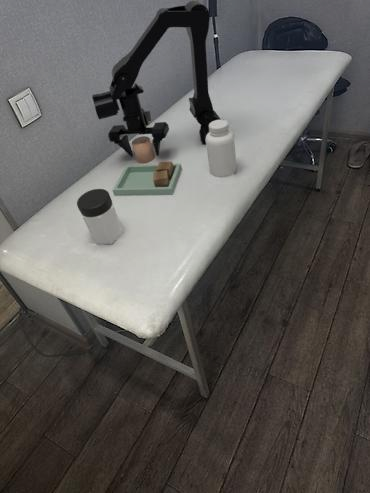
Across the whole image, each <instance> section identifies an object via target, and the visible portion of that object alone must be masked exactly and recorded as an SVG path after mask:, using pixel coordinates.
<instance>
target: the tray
mask: <svg viewBox="0 0 370 493" xmlns="http://www.w3.org/2000/svg"><path fill="white" fill-rule="evenodd" d="M158 164H159V163H157V164H155V163H154V164H152V163H151V164H150V163H149V164H129V165H127V164H126V165H125V166H124V169H123V170H122V172H121V174H120V176H119V177H118V180H117V181H116V183H115V185H114V187H113V189H112V193H113V195H114V196H116V197H118V196H119V197H121V196H124V197H125V196H173V194H174V191H175V189H176V185H177V183H178V180H179V178H180V175H181V172H182V169H183V168H182V164H181V163H179V162H178V163H176V162H175V163H173V167H174V174H173V176H172V179H171V180H170V184H169V187H155V185H154V182H153V173H154V172H157V171H156V169H157V167H158Z"/></svg>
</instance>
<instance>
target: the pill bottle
mask: <svg viewBox="0 0 370 493" xmlns="http://www.w3.org/2000/svg"><path fill="white" fill-rule="evenodd" d="M229 128H230V127H229V122H228V120H226V119H221V120H215V121H212V122H211V123H210V124H209V133H208V134H207V135H206V139H205V140H206V145H205V147H206V153H207V161H208V167H209V168H208V169H209V172H210V174H211V176H213V177H215V178H226V177H227V178H228V177H229V176H232V175H235V173H236V171H237V158H236V157H237V155H236V145H235V144H236V143H235V135H234V133H233V131H232V130H231V129H229Z"/></svg>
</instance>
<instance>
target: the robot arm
mask: <svg viewBox="0 0 370 493" xmlns="http://www.w3.org/2000/svg"><path fill="white" fill-rule="evenodd" d="M210 20H211V15H210V11H209V9H208V8H207V7H206V5H204V4H202V3H201V2H200V1H197V0H190V1H188V2H187V3H186V4H185V5H184V4H183V5H177V6H172V7H162V8H159V9H158V10H157V12H156V14H155V16H154V17H153V19H152V21H151V22H150V23H149V25H148V26H146V29H145V30H144V32H143V33H142V34H141V36H140V37H139V39H138V40H137V42H136V43H135V45H134V46H133V48H131V49H130V52H128V53H127V54H126V55H125V56H123V57H121V58H120V59H119V61H118V62H117V63H116V64H115V65H113V67H112V70H111V78H112V80H111V82H110V84H109V91H106V92H102V93H96V94H92V96H91V97H92V101H93V104H94V110H95V113H96V115H97V118H98V120H103V119H106V118H110V117H114V116H118V114H119V111H120V108H121V111H122V114H123V117H122V121H123V122H125V123H126V126H125V125H124V124H120V125H113V126H112V127H111V129H110V130H109V132H108V133H107V136H108V140H109V142H110V143H114V145H117V146H119V147H120V148H121V149H122V150H123V151H124V152H126V153H127V154H128V156H129V157H130V158H132V157H133V156H134V152H133V150H132V147H131V143H130V141H129V136H137V135H140V136H141V135H151V137H152V138H153V139H152V140H151V142H152V144H153V148H154V150H155V151H154V152H155V153H156V156H157V157H158V156H160V151H161V149H160V148H161V142H162V141H163V140H164V139H165V138H167V135H168V133H169V131H170V127H169V126H170V125H169V124H168V123H167V121H161V122H160V121H159V122H155V123H154V125H153V126H151V127H147V126H149V124H150V123H149V122H151V121H152V118H151V116H152V115H151V110H144V108H143V107H142V104H141V101H140V98H139V94H144V88H143V87H142V85H139V84H138V83H137V82H136V81H137V78H138V76H139V73H140V70H141V68H142V66H143V64H144V62H145V61H146V59H147V58H148V57H149V55H150V54H151V53H152V51H153V50H154V48H155V47H156V45H157V44H158V43H159V42H160V40H161V39H162V38H163V36H164V34H165V33H166V32H167V31H168V30H169V28H185V29H186V33H187V36H188V38H189V42H190V54H191V66H192V80H193V90H194V91H193V96H192V97H188V102H189V109H188V110H189V111H190V114H191V115H192V117H193V118H195V120H196V121H197V123H198V124H199V125H200V127H199V131H198V133H199V137H200V138H199V139H200V142H201V145H203V146H206V140H205V139H206V135H207V134H208V133H209V124H210V123H211V122H212V121H215V120H222V118H220V116H219V115H218V114H217V111H215V110H214V107H213V103H212V100H211V97H210V93H209V81H208V78H209V77H208V64H207V62H208V61H207V45H206V43H207V42H206V41H207V38H208V34H209V28H210ZM118 100H119V103H118ZM119 104H120V105H119ZM126 127H127V128H126Z"/></svg>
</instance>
